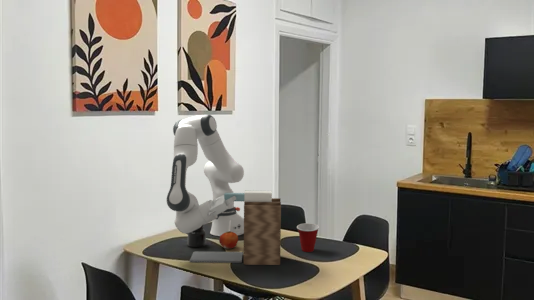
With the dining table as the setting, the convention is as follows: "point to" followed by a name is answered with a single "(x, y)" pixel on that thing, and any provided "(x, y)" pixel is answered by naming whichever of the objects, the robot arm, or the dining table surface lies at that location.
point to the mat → (217, 257)
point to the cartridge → (251, 196)
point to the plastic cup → (307, 236)
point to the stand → (262, 232)
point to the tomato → (228, 240)
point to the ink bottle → (197, 237)
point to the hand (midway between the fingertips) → (236, 196)
